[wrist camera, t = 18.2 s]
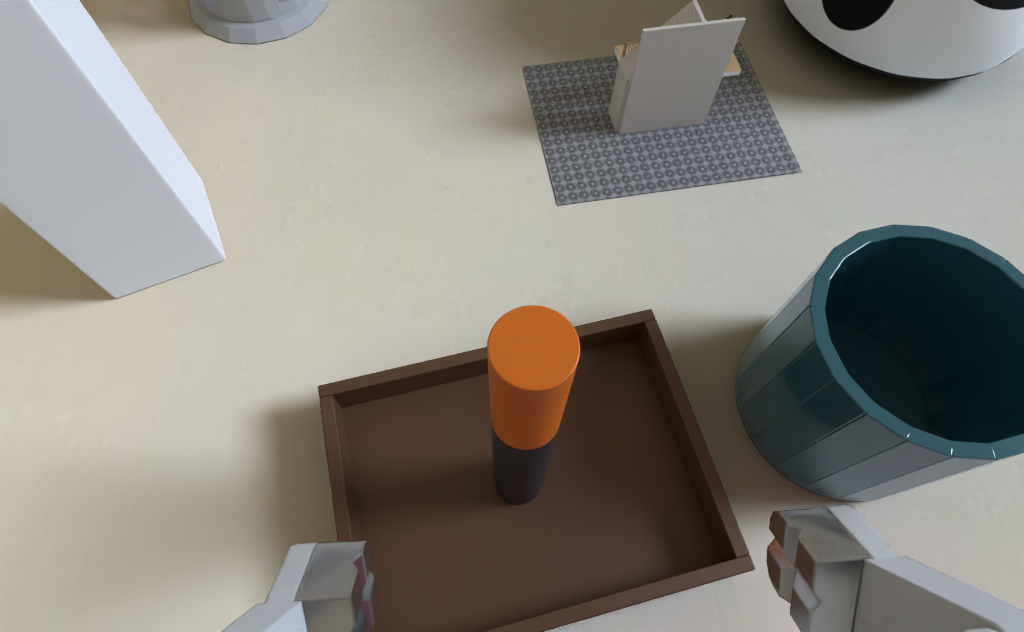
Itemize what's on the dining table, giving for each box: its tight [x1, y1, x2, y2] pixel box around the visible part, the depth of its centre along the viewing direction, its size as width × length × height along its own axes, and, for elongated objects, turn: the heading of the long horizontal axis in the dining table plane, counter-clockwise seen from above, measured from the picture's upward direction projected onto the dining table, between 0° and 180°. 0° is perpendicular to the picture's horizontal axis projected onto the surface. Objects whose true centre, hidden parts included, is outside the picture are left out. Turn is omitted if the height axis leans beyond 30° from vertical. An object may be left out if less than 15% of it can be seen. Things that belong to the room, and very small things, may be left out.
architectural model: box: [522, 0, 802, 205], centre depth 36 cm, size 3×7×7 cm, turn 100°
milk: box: [0, 0, 226, 298], centre depth 25 cm, size 6×6×22 cm
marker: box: [487, 305, 580, 505], centre depth 22 cm, size 2×2×16 cm
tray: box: [318, 309, 755, 632], centre depth 28 cm, size 12×16×2 cm
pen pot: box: [736, 225, 1024, 502], centre depth 27 cm, size 10×10×8 cm
